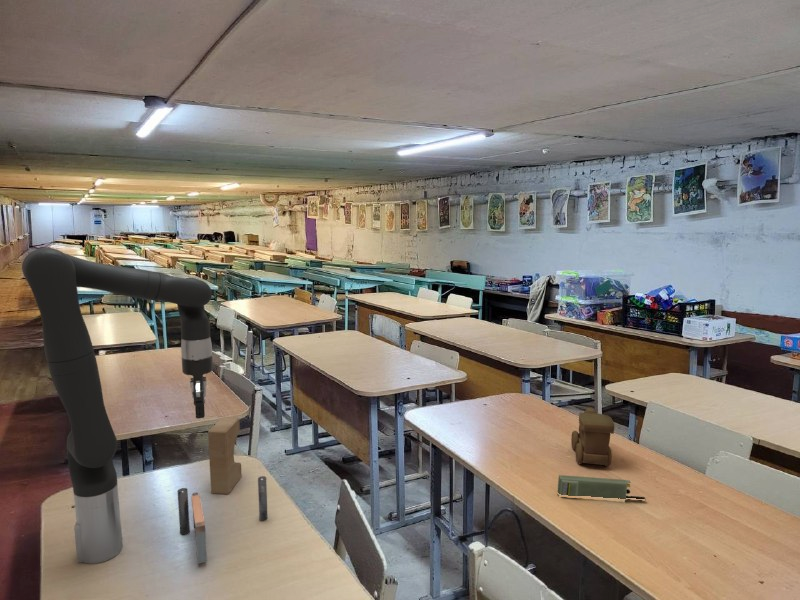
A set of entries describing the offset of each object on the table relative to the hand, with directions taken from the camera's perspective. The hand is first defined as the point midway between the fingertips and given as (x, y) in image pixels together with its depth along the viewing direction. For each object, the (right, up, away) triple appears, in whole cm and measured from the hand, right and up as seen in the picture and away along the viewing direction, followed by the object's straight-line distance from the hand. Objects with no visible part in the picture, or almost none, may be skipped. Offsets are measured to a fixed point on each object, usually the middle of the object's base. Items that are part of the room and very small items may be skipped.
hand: (200, 417), depth 140 cm
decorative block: (0, -26, +22) cm, 34 cm away
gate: (+3, -30, -8) cm, 31 cm away
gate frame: (+6, -29, +1) cm, 30 cm away
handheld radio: (+113, -29, +17) cm, 118 cm away
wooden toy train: (+120, -24, +43) cm, 129 cm away
